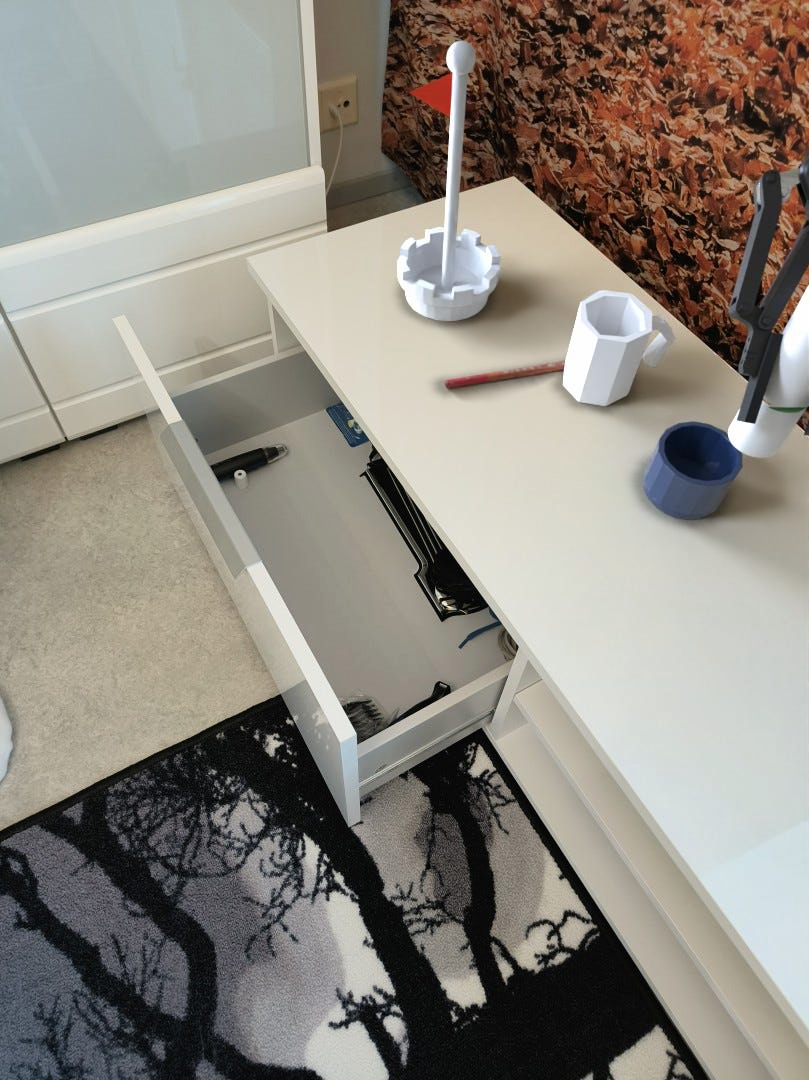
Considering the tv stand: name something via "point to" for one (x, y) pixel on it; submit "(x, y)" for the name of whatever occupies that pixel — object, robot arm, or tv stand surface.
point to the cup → (691, 470)
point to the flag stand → (449, 220)
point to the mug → (612, 346)
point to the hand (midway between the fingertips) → (780, 428)
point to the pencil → (505, 374)
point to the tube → (780, 391)
